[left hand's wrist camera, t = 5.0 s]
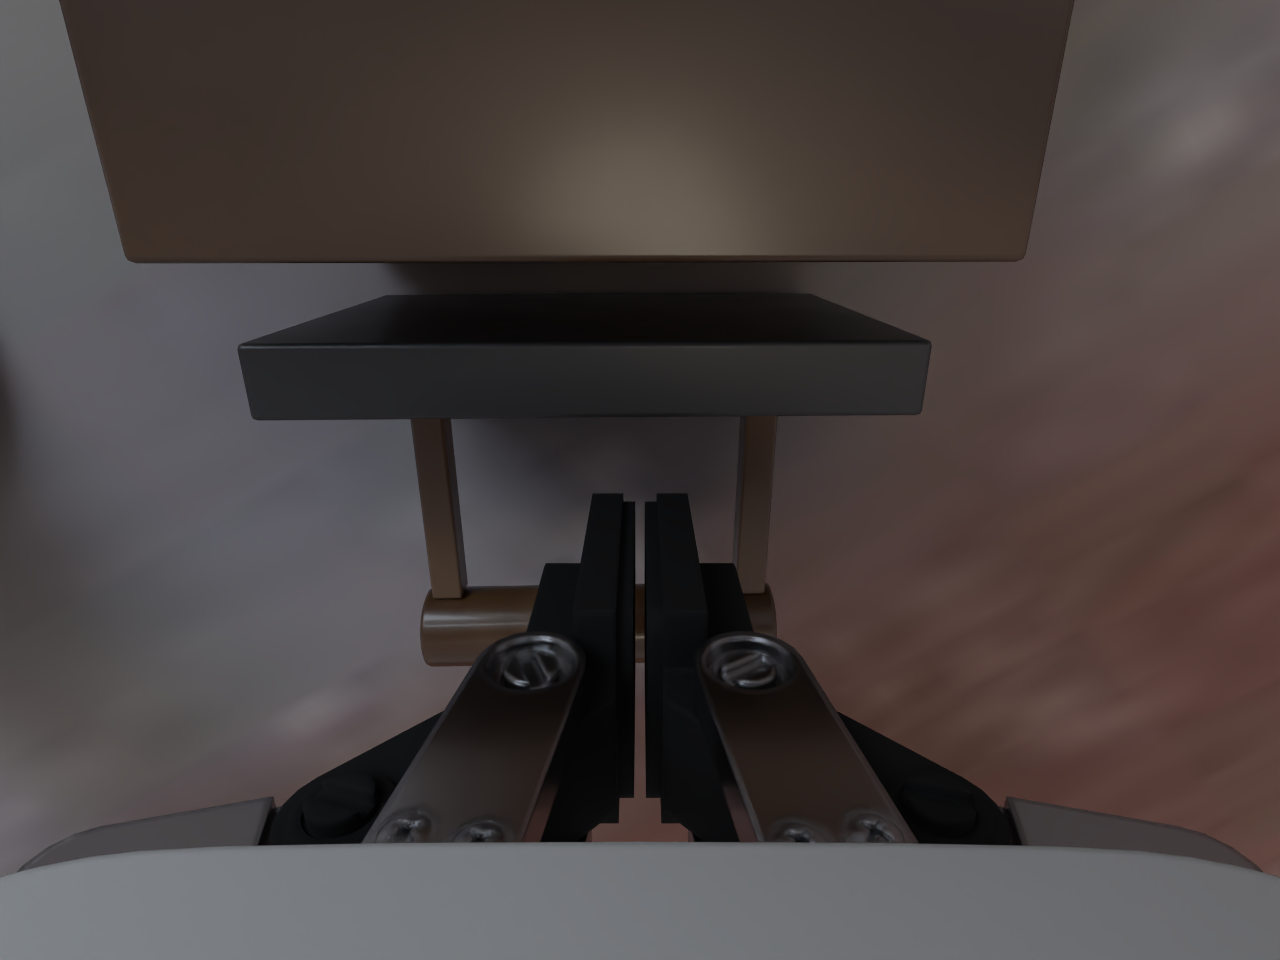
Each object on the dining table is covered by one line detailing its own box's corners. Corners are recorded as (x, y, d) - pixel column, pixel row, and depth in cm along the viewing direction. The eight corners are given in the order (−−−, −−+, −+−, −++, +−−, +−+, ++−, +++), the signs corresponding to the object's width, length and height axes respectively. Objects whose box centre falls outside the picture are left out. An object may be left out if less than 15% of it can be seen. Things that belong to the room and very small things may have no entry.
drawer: (790, 547, 19) (877, 712, 13) (417, 551, 19) (314, 723, 13) (889, -581, 12) (1227, -1577, 5) (267, -602, 11) (-197, -1681, 5)
